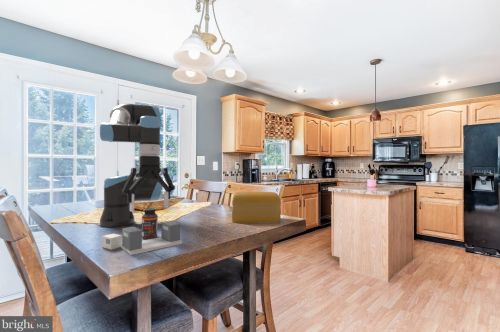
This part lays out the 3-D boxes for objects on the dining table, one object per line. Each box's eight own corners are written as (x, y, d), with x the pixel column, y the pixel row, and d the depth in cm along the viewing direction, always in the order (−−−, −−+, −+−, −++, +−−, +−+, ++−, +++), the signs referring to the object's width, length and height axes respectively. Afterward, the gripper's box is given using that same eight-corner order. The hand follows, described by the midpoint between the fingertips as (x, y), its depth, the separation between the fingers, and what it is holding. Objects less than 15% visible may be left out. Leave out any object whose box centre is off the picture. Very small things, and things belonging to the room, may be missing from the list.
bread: (231, 223, 130) (232, 193, 130) (232, 217, 143) (232, 190, 143) (280, 223, 131) (280, 193, 131) (277, 217, 144) (277, 190, 144)
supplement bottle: (141, 240, 100) (141, 210, 100) (141, 236, 106) (141, 208, 106) (158, 238, 103) (158, 209, 102) (157, 234, 108) (157, 207, 108)
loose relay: (102, 247, 92) (102, 236, 92) (113, 244, 95) (113, 233, 95) (110, 250, 89) (110, 238, 89) (121, 246, 93) (122, 235, 93)
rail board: (120, 247, 91) (120, 227, 91) (169, 237, 103) (169, 220, 103) (130, 255, 84) (130, 233, 84) (182, 243, 96) (182, 224, 96)
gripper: (119, 154, 92) (118, 214, 92) (183, 156, 110) (182, 207, 109) (112, 155, 98) (112, 211, 98) (174, 156, 115) (174, 205, 115)
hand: (149, 209), depth 104 cm, fingers open, 13 cm apart
